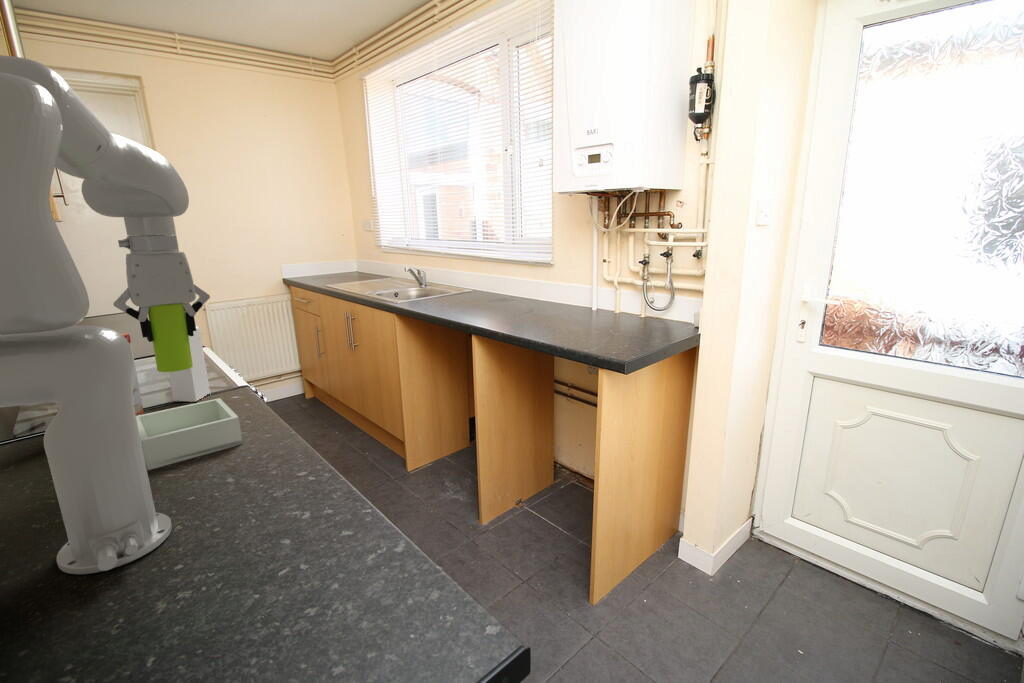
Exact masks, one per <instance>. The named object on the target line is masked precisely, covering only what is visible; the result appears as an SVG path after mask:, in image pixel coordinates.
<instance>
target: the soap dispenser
mask: <svg viewBox="0 0 1024 683" xmlns="http://www.w3.org/2000/svg"><path fill="white" fill-rule="evenodd" d="M147 317H148V320H149V321H150V323H151V329H152V334H153V339H154V341H153V342H152V344H153V352H154V356H155V364H156V368H157V369H156V370H157V372H161V373H168V372H175V371H181V370H186V369H189V368H191V367H192V366H193V363H192V357H191V350H190V343H189V336H188V329H187V322H186V315H185V308H184V306H183V304H168V305H160V306H155V307H150V308H149V311H148V315H147Z"/></svg>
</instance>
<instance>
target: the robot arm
mask: <svg viewBox="0 0 1024 683" xmlns="http://www.w3.org/2000/svg"><path fill="white" fill-rule="evenodd" d="M56 169H57V170H59V171H61V172H62V173H64V174H66V175H69V176H71V177H75V178H78V179H82V183H81V194H82V197H83V200H84V202H85V203H86V204H87V206H88V208H90V209H91V210H92V211H94V212H96V213H97V214H100V215H101V216H105V217H109V218H123V221H124V225H125V231H126V238H124V239H118V240H117V242H118V246H119V247H118V248H124V249H127V250H129V252H130V253H125V254H126V256H125V266H126V268H125V269H126V270H125V271H126V283H127V288H126V289H125V290H124V291H123V292H122V293H121V295H119V296H118V297H117V299H116V300H115V301H113V306H114V307H115V308H117V310H120V311H122V312H123V313H125V314H127V315H128V316H130V317H132V318H134V319H135V320H138V322H139V324H140V330H141V336H142V338H146V339H147V341H148V342H149V343H151V342H152V343H153V341H154V339H153V334H152V329H151V323H150V321H149V317H148V311H149V308H150V307H155V306H160V305H168V304H183V306H184V308H185V315H186V322H187V329H188V335H189V336H194V334H193V331H196V326H197V325H196V320H195V316H196V315H197V313H198V312H199V310H200V309H201V308H202V307H203V306H204V305H205V304H206V303H207V302H208V301H209V299H210V298H211V296H210V295H209V293H207V292H205V291H204V290H203V289H201V288H200V287H198V286H197V285H196V284H194V279H193V275H192V272H191V271H192V270H191V268H190V264H189V261H188V259H187V255H186V254H185V252H184V251H180V249H179V243H178V238H177V233H176V226H175V220H174V218H175V217H179V216H183V214H185V213H186V211H187V210H188V208H189V205H190V204H189V202H190V200H189V199H190V198H189V197H190V196H189V193H188V189H187V187H186V185H185V182H184V180H183V179H182V177H181V176H180V174H179V173H178V171H177V170H176V169H175V167H174V166H173V165H172V163H171V162H170V161H169V160H168V159H167V158H166V157H165V156H163V155H162V154H160V153H159V152H157V151H156V150H153V149H151V148H149V147H148V146H145V145H143V144H141V143H138V142H137V141H135V140H133V139H130V138H128V137H125V136H123V135H121V134H119V133H116V132H114V131H110V130H108V129H107V128H106V126H104V124H103V123H102V122H101V121H100V120H99V118H98V117H97V116H96V115H95V114H94V112H93V111H92V110H91V109H90V108H89V107H88V105H87V104H86V103H85V102H84V101H83V100H82V98H81V97H80V96H79V95H78V94H77V93H76V92H75V91H74V89H73V88H72V87H71V86H70V85H69V84H68V82H67V81H66V80H65V79H64V78H63V77H62V76H61V75H59V74H58V73H57V72H56V71H55V70H54V69H53V68H50V67H48V66H47V65H45V64H44V63H40V62H38V61H36V60H32V59H29V58H24V57H19V56H13V55H3V54H0V408H7V407H8V408H9V407H18V406H26V405H27V406H29V405H38V404H56V403H59V404H60V410H59V412H58V411H57V414H55V416H54V418H53V419H52V420H51V422H50V423H49V424H48V426H47V428H46V429H45V432H44V436H43V447H44V451H45V455H46V458H47V462H48V465H49V469H50V470H49V471H50V474H51V477H52V480H53V481H52V482H53V486H54V489H55V494H56V498H57V500H58V501H57V502H58V504H59V508H60V512H61V517H62V520H63V525H64V527H65V528H64V529H65V531H66V535H67V536H66V537H67V539H68V541H67V542H66V543H65V544H64V545H62V547H61V548H60V550H59V551H58V552H57V555H56V564H57V567H58V569H59V570H61V572H64V573H65V574H72V575H89V574H95V573H100V572H106V571H109V570H112V569H115V568H117V567H121V566H124V565H126V564H129V563H132V562H133V561H135V560H137V559H141V558H142V557H143V556H145V555H147V554H149V553H151V552H152V551H153V550H155V549H156V548H158V547H159V546H160V545H161V544H162V543H163V542H164V541H166V539H167V538H168V537H169V536H170V533H171V531H172V530H173V528H172V527H173V525H172V520H171V518H170V517H169V516H168V515H167V514H164V513H161V512H156V507H155V503H154V499H153V493H152V488H151V483H150V479H149V475H148V469H147V467H146V464H145V459H144V454H143V449H142V444H141V439H140V435H139V430H138V425H137V420H136V415H135V409H134V401H133V388H132V373H133V358H132V351H133V350H132V351H131V347H130V344H129V342H128V341H127V339H126V338H125V337H124V336H123V335H122V334H120V333H121V332H119V331H117V330H115V329H111V328H109V327H105V326H100V325H99V326H98V325H77V324H79V323H81V322H82V321H83V320H84V319H85V318H86V316H87V315H88V313H89V310H90V300H89V294H88V291H87V288H86V285H85V283H84V281H83V279H82V276H81V274H80V273H79V270H78V268H77V265H76V263H75V262H74V260H73V259H74V258H72V255H71V254H70V251H69V249H68V247H67V244H66V242H65V241H64V239H63V237H62V235H61V232H60V230H59V227H58V225H57V223H56V221H55V220H56V219H55V218H54V215H53V213H52V208H51V202H50V198H51V196H50V194H51V186H52V181H53V177H54V174H55V173H54V171H55V170H56ZM197 296H198V299H197V300H196V298H197ZM129 300H130V301H131V303H132V304H133V305H134V306H136V307H138V311H137V310H136V309H134V308H132V307H130V306H129V305H127V304H126V303H127V302H128V301H129ZM195 300H196V301H195ZM191 303H192V304H191Z"/></svg>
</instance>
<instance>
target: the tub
mask: <svg viewBox="0 0 1024 683" xmlns="http://www.w3.org/2000/svg"><path fill="white" fill-rule="evenodd" d="M136 420H137V425H138V430H139V435H140V439H141V444H142V449H143V454H144V459H145V464H146V468H147V471H151V470H155V469H158V468H162V467H165V466H168V465H169V466H170V465H173V464H176V463H180V462H184V461H187V460H190V459H194V458H197V457H200V456H205V455H208V454H212V453H215V452H219V451H223V450H227V449H230V448H233V447H236V446H242V445H243V443H244V442H243V437H242V436H243V435H242V431H241V424H240V419H239V416H238V415H237V414H236V412H234V411H233V410H232V409H231V408H230V407H229V406H228V405H227V404H226V403H225V401H223V400H222V399H221V398H220V397H218V398H213V399H210V400H204V401H199V402H197V403H189V404H186V405H182V406H176V407H172V408H167V409H163V410H158V411H153V412H148V413H144V414H143V415H138V416H136Z"/></svg>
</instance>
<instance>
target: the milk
mask: <svg viewBox="0 0 1024 683" xmlns="http://www.w3.org/2000/svg"><path fill="white" fill-rule="evenodd" d="M193 334H194V336H189V335H188V336H189V343H190V350H191V357H192V363H193V366H192V367H191V368H189V369H186V370H181V371H175V372H167V373H168V377H169V384H170V387H171V388H170V389H171V394H172V399H173V401H174V400H179V401H197V400H199V399H201V398H203V397H204V396H206V395H207V394H209V393H210V394H211V390H210V383H209V378H208V372H207V365H206V359H205V355H204V347H203V341H202V337H201V336H202V334H201V328H200V327H199V326H197V325H196V331H193Z"/></svg>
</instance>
